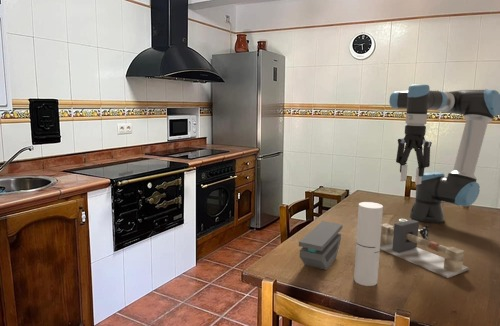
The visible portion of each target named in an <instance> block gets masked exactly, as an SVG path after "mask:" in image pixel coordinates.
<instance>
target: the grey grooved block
mask: <svg viewBox="0 0 500 326" xmlns="http://www.w3.org/2000/svg"><path fill="white" fill-rule="evenodd" d="M342 229H343V223H335V222H332V221H331V222H330V221H325V220H322V221H320V222H319V223H318V224H317V225H316V226H315V227H314V228H312V229H311V230H310V231H309V232H308V233H307V234H306V235H305V236H304V237H302V239H300V240H299V241H298V247H300V248H301V247H302V248H301V249H300V250H299V258H300V260H301V261H302V263H303V264H304V266H307V267H312V268H315V269H320V270H324V271H327V270H328V269H329V268H330V267H331V266H332V264H333V263H334V262H335V260H336V259H337V255H338V253H339V249H340V244H341V240H342V233H339V232H341V230H342Z"/></svg>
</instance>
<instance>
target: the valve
mask: <svg viewBox="0 0 500 326" xmlns="http://www.w3.org/2000/svg"><path fill="white" fill-rule="evenodd" d="M404 221H408V220H407V219H405V218H399V219H398V223H399V222H404ZM418 233H419V234H420V236H421V238H423V239H426V240H428V238H429V233H430V226H429V225H428V224H424V227H423V228H421V229H419V228H418Z"/></svg>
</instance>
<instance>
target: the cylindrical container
mask: <svg viewBox="0 0 500 326" xmlns="http://www.w3.org/2000/svg"><path fill="white" fill-rule="evenodd" d="M383 209H384V206H383V205H382V204H381V203H378V202H372V201H362V202H359V203H358V210H357V211H358V212H357V225H356V226H357V227H356V242H355V243H356V244H355V258H354V270H353V271H354V272H353V280H354V282H355V283H357V284H359V285H361V286H366V287H373V286H376V285H377V284H378V279H379V278H378V276H379V264H380V263H379V261H380V251H381V249H380V239H381V226H382V224H383V223H382V222H383V212H384V210H383Z"/></svg>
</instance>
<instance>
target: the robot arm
mask: <svg viewBox="0 0 500 326" xmlns="http://www.w3.org/2000/svg"><path fill="white" fill-rule="evenodd" d="M430 88H431V87H430V85H429V84H411V85H409V86H408V89H407V90H398V91H393V92H392V93H391V94H390V96H389V100H388V101H389V102H388V103H389V105H390V107H391V108H392V109H399V110H406V113H405V126H404V137H403V138H397V144H398V146H397V150H396V151H397V153H396V159H395V161H396V162H395V163H396V164H399V173H400V182H406V181H407V178H408V164H407V162H408V160H409V157H410V154H411V151H413V150H414V152H415V156H416V160H417V165H418V166H417V167H416V170H415V171H416V172H415V181H414V182H415V183H414V185H416V187H415V189H416V190H415V199H414V203H413V205H412V207H411V209H410V214H409V218H411V219H412V220H415V221H419V222H423V223H428V224H438V223H439V224H440V223H443V222H444V220H445V215H444V211H443V207H442V202H444V203H447V204H453V205H455V206H462V207H470V206H472V205H473V204H474V203H475V202H476V200H477V199H478V197H479V194H480V184H479V183H478V182H477V177H476V176H475V172H476V168H477V164H478V162H479V161H478V160H479V157H480V154H481V149H482V147H483V142H484V139H485V135H486V130H487V127H488V124H490V123H491V122H493V120H494V117H497V116H499V115H500V92H499V91H497V90H496V89H487V88H485V89H461V90H460V89H459V90H454V91H441V90H430ZM428 110H429V111H431V110H433V111H439V112H441V113H448V114H449V113H451V114H456V115H461V116H463V118H464V119H465V124H464V128H463V132H462V134H461V135H462V136H461V139H460V141H459V145H458V149H457V152H456V158H455V162H454V164H453V168H452V171H449V172H448V173H447V176H445V173H444V172H441V171H440V172H439V171H438V172H437V171H431V172H430V171H429V172H428V171H425V169H426V168H429V167H430V166H431V165H430V164H431V163H430V162H431V147H432V141H427V140H426V139H425V136H426V132H427V126H426V125H427V122H428Z"/></svg>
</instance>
